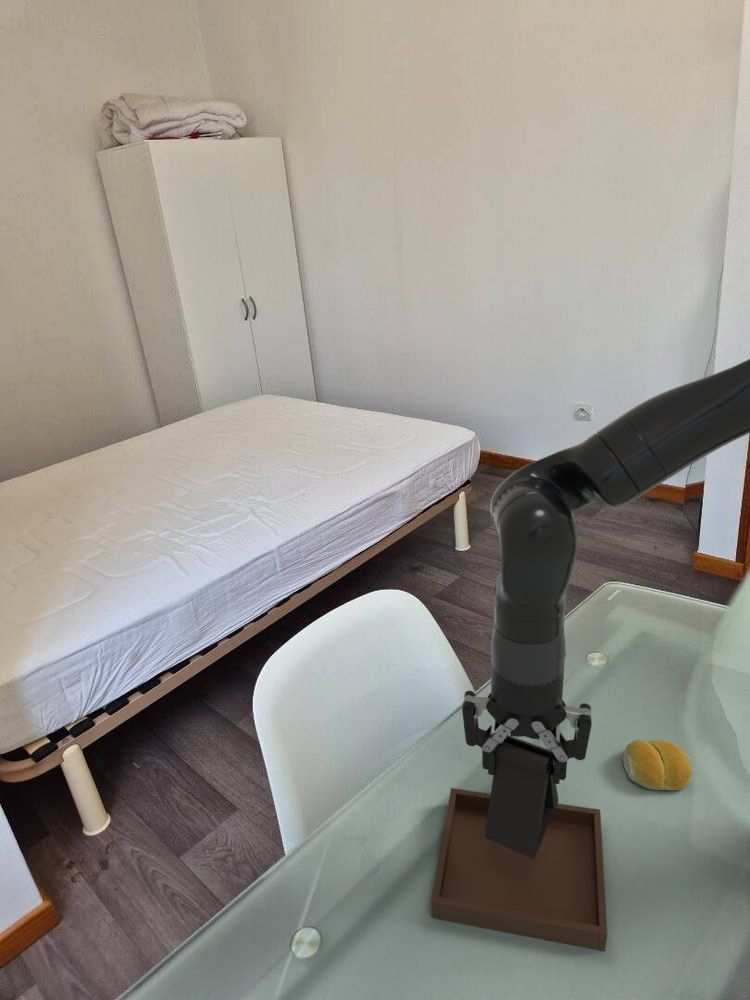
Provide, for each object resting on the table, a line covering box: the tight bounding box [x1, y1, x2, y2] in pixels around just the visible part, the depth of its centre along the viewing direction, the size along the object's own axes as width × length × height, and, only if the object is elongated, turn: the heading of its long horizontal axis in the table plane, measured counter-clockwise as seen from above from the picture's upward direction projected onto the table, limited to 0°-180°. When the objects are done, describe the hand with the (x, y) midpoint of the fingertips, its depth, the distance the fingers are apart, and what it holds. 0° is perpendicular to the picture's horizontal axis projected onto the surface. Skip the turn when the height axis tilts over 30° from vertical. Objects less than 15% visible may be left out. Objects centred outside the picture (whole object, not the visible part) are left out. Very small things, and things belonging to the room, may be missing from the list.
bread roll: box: [622, 739, 693, 791], centre depth 98 cm, size 8×9×4 cm
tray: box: [430, 787, 608, 952], centre depth 86 cm, size 20×17×3 cm
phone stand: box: [485, 734, 559, 859], centre depth 80 cm, size 9×6×12 cm, turn 148°
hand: (523, 773), depth 79 cm, fingers closed on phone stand, 6 cm apart
